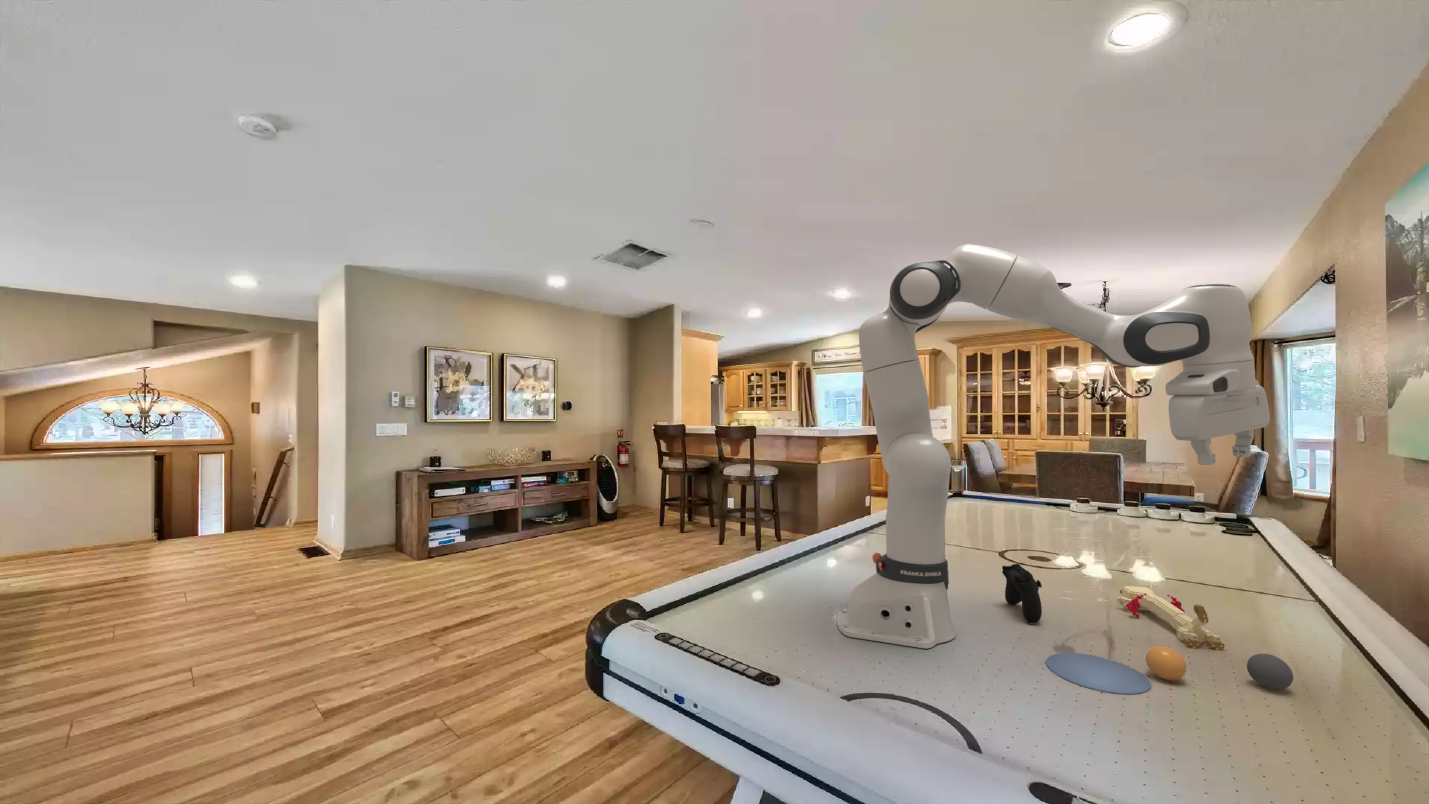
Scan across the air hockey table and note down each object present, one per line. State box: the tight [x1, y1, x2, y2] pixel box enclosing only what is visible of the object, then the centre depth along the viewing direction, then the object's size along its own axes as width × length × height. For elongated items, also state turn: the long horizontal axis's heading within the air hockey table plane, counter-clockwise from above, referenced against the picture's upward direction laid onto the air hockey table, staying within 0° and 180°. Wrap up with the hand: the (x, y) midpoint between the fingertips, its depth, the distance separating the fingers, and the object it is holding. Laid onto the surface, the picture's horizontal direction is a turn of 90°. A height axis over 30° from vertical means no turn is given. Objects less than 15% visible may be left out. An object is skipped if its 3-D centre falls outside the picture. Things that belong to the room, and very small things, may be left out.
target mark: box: [1045, 652, 1152, 695], centre depth 88 cm, size 14×14×1 cm
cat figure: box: [1115, 585, 1225, 651], centre depth 109 cm, size 10×9×25 cm
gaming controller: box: [1001, 563, 1043, 625], centre depth 115 cm, size 14×6×10 cm, turn 168°
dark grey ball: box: [1246, 653, 1294, 691], centre depth 83 cm, size 5×5×5 cm
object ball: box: [1145, 645, 1187, 681], centre depth 86 cm, size 5×5×5 cm
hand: (1224, 460), depth 91 cm, fingers open, 8 cm apart
